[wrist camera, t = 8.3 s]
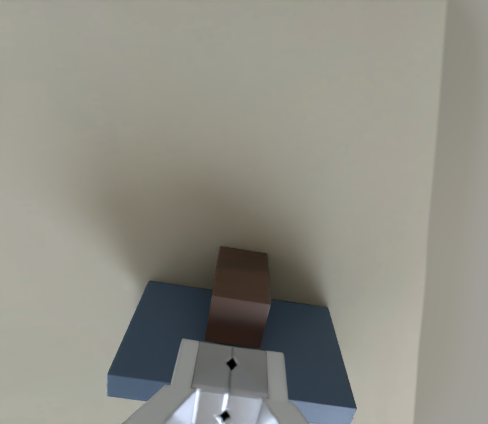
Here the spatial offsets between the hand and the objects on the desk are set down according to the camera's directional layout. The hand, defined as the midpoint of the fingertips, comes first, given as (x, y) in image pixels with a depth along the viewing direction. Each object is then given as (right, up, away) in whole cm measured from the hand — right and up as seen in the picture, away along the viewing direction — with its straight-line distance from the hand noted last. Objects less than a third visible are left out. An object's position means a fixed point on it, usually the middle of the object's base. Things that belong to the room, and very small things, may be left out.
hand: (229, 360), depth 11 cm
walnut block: (0, -2, +17) cm, 17 cm away
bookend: (-1, -6, +23) cm, 24 cm away
